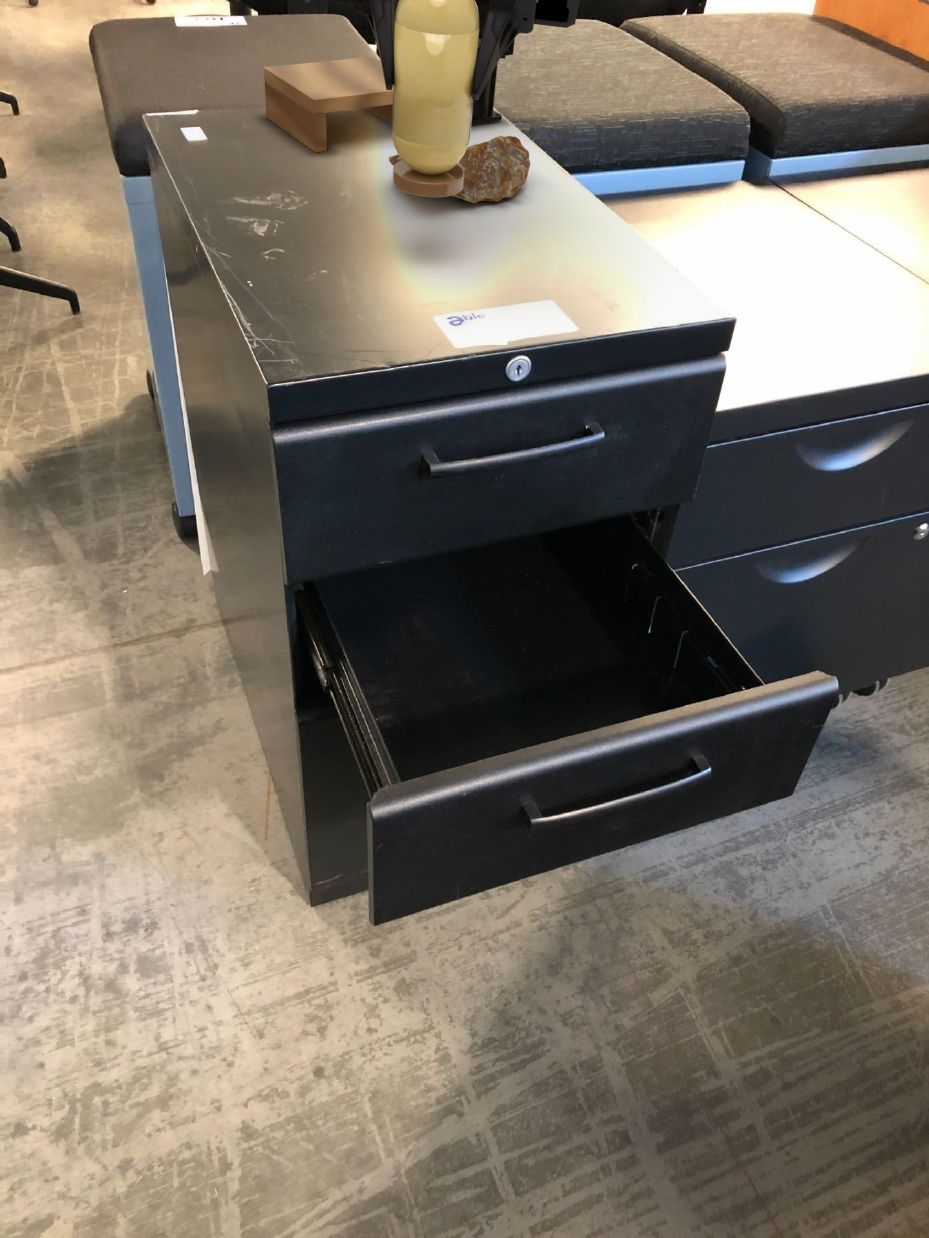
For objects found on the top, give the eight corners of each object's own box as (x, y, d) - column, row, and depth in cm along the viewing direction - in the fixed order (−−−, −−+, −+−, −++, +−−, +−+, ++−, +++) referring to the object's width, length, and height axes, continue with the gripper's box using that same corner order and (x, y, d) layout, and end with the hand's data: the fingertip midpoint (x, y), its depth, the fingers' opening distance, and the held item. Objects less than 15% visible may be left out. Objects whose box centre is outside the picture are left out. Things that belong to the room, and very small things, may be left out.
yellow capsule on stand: (438, 165, 74) (451, -39, 65) (480, 192, 71) (500, -19, 62) (376, 175, 72) (379, -36, 62) (416, 204, 68) (427, -14, 59)
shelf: (371, 105, 100) (372, 56, 97) (424, 136, 95) (426, 86, 92) (266, 118, 95) (263, 67, 92) (315, 152, 89) (314, 100, 86)
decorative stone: (363, 126, 81) (479, 116, 90) (359, 181, 83) (472, 166, 93) (447, 159, 76) (559, 145, 86) (440, 216, 79) (549, 196, 89)
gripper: (301, -259, 58) (271, -1, 58) (611, -223, 58) (583, 35, 58) (326, -116, 69) (302, 101, 69) (586, -86, 69) (562, 131, 69)
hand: (431, 92), depth 66 cm, fingers closed on yellow capsule on stand, 5 cm apart
